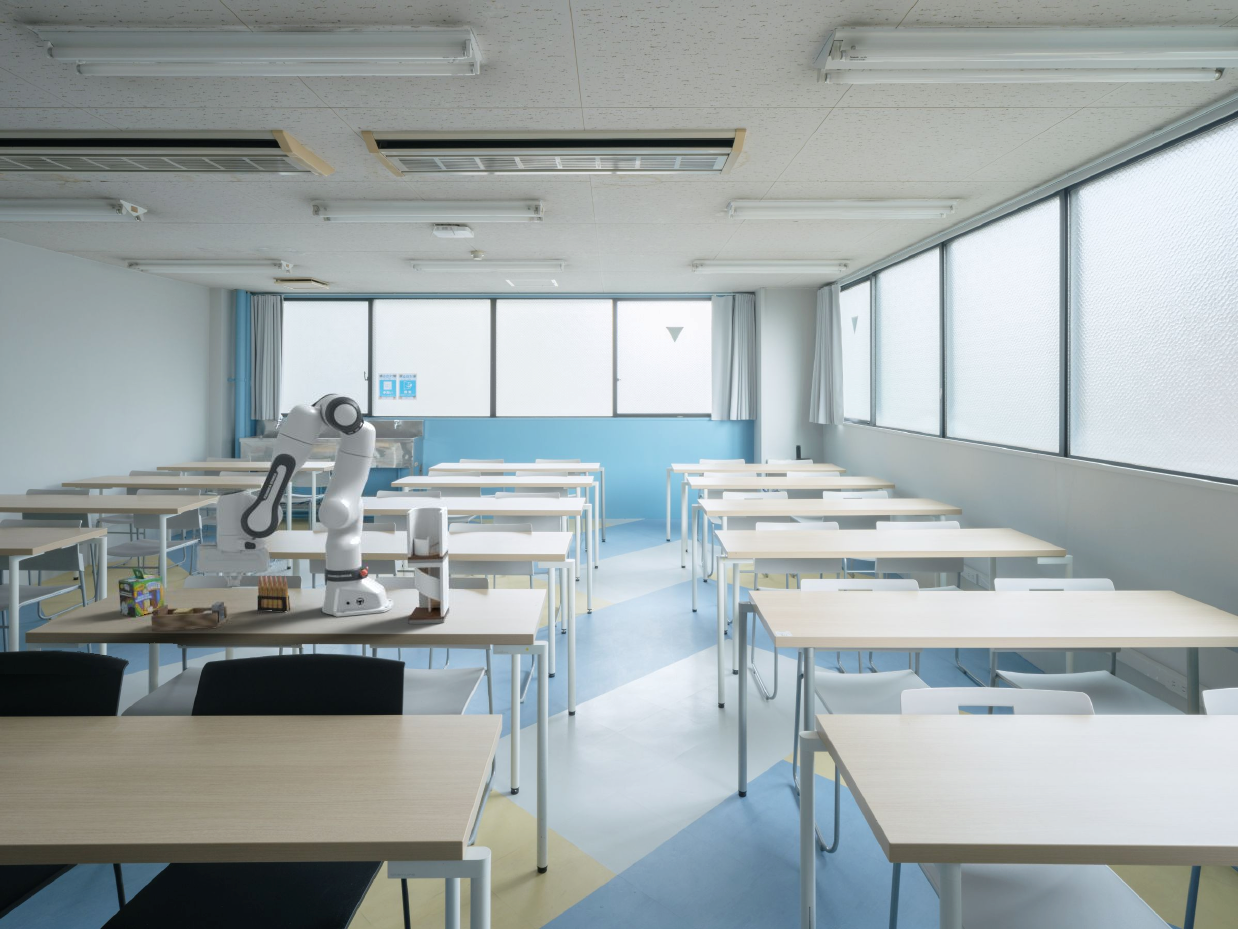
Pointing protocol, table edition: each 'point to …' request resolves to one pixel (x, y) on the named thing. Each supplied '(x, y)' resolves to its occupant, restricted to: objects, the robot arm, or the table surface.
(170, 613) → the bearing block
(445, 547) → the spiral staircase model
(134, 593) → the chalk box
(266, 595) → the ammunition clip
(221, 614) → the grey metal block
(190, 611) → the spacer
